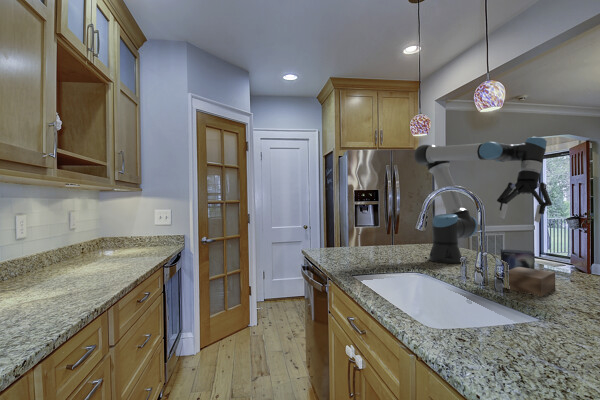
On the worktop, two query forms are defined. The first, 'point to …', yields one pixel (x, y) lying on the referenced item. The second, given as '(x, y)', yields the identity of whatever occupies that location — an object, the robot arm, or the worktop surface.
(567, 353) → the worktop surface
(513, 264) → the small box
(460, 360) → the worktop surface
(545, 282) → the walnut plinth
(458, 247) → the robot arm
